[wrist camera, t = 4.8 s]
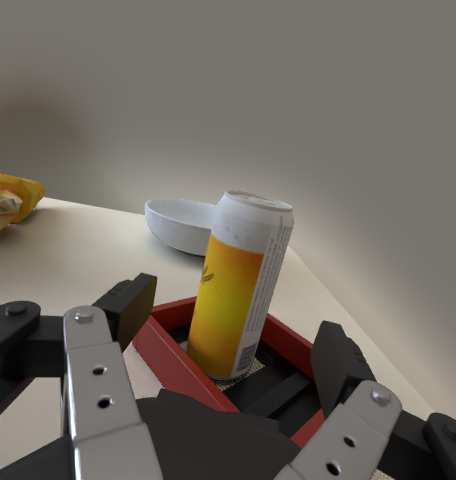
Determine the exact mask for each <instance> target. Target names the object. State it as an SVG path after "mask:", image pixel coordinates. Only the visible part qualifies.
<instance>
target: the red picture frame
mask: <svg viewBox="0 0 456 480" xmlns="http://www.w3.org/2000/svg"><path fill="white" fill-rule="evenodd" d="M196 300H197V296H196V297H191V298H187V299H183V300H179V301H174V302H170V303H166V304H162V305H158V306H153V308H152V311H151V314H150V316H149V318H148V319H147V321H146V322H145V323H144V325H143V326H142V328H141V329H140V330H139V332H138V333H137V334H136V336H135V337H134V338H133V341H132V344H133V346H134V347H135V348H136V349H137V351H138V352H139V354H140V355H141V356H142V358H143V359H144V360H145V362H146V363H147V364H148V366H149V367H150V368H151V370H152V371H153V372H154V374H155V375H156V376H157V378H158V379H159V380H160V382H161V383H162V384H163V386H164V387H165V388H166V390H170V391H173V392H177V393H181V394H184V395H188V396H190V397H192V398H194V399H196V400H198V401H200V402H202V403H203V404H205V405H207V406H209V407H211V408H213V409H215V410H217V411H222V412H244V413H252V414H255V415H259V416H262V417H266V418H270V419H273V420H277V421H279V432H280V433H281V434H283V435H285V436H286V437H288V438H289V439H291V440H292V441H293V442H294V443H295V444H297V445H298V446H299V447H300V448H301V449H303V447H304V446H305V445H306V444H307V443H308V441H309V440H310V439H311V438H312V436H313V435H314V434H315V433H316V431H317V430H318V429H319V428H320V426H321V425H322V424H323V423H324V421H325V420H324V415H323V411H322V407H321V403H320V399H319V395H318V390H317V386H316V382H315V378H314V374H313V370H312V366H311V360H310V357H311V350H312V347H313V344H312V343H311V342H309V341H308V340H306V339H305V338H303V337H302V336H300V335H299V334H298V333H296V332H295V331H293V330H292V329H290V328H289V327H287V326H286V325H284V324H283V323H282V322H280V321H279V320H277V319H276V318H274V317H273V316H271V315H270V314H269V313H267V315H266V319H265V322H264V325H263V329H262V332H261V335H260V339H259V342H258V346H257V349H256V352H255V357H256V358H258V359H259V360H260V361H261V362H262V363H263V364H265V365H266V366H265V367H264V368H262V369H260V370H258V371H257V372H255V373H253V374H252V375H250V376H248V377H246V378H245V379H243V380H241V381H240V382H238V383H236V384H234V385H233V386H231V387H229V388H228V389H226V390H224V391H221V390H220V389H219V388H218V387H217V386H216V385H215V384H214V383H213V382H212V381H211V379H210V378H209V377H208V376H207V375H206V374H205V373H204V372H203V371H202V370H201V369H200V368H199V366H198V365H197V364H196V363H195V362H194V361H193V360H192V359H191V358H190V357H189V356H188V355H187V353H186V352H185V351H184V350H183V349H182V348H181V347H180V346H179V345H178V344H177V343H179V342H182V341H185V340H187V339H188V337H189V333H190V328H191V323H192V319H193V314H194V309H195V305H196Z"/></svg>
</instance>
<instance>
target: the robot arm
mask: <svg viewBox="0 0 456 480" xmlns="http://www.w3.org/2000/svg"><path fill="white" fill-rule="evenodd" d="M156 285H157V277H156V276H153V275H149V274H145V273H140V274H139V275H138V276H137V277H136V278H135V279H134V280H133V281H131V280H125V281H122V282H119V283H118V284H116V285H115V286H114V287H113V288H112V289H110V290H109V291H108V292H107V294H104V295H103V296H102V297H101V298H100V299H98V300H97V301H96V302H95V303H94V304H92V305H91V306H79V307H75V308H72V309H70V310H68V311H67V312H66V313H65V314H64V316H42V315H40V313H41V308H40V306H39V305H38V304H36V303H34V302H30V301H14V302H9V303H6V304H3V305H0V415H1V414H2V413H3V411H4V410H5V409H6V408H7V407H8V406H9V405H10V404H11V403H12V402H13V401H14V400H15V399H16V398H17V397H18V396H19V395H20V394H21V393H22V392H23V391H24V389H25V388H26V387H27V386H28V385H29V384H30V383H31V382H32V381H33V380H34V379H35V378H36V377H60V413H61V433H60V438H58V439H56V440H55V441H53V442H51V443H49V444H47V445H45V446H43V447H42V448H40V449H38V450H36V451H34V452H32V453H30V454H28V455H27V456H25V457H23V458H21V459H19V460H17V461H15V462H14V463H12V464H10V465H8V466H6V467H4V468H2V469H0V480H371V479H372V477H373V474H374V472H375V470H376V469H378V470H380V471H382V472H383V473H385V474H387V475H388V476H390V477H392V478H394V479H395V480H456V420H455V419H453V418H451V417H449V416H447V415H444V414H441V413H431V414H430V416H429V418H428V419H427V421H424V420H422V419H420V418H418V417H416V416H414V415H412V414H410V413H408V412H406V411H404V410H402V404H401V402H400V400H399V399H398V397H397V396H396V395H395V394H394V393H393V392H392V391H391V390H389V389H388V388H386V387H385V386H383V385H381V384H379V383H377V381H376V379H375V377H374V375H373V373H372V371H371V369H370V367H369V365H368V363H366V362H367V361H366V360H365V358H364V356H363V354H362V352H361V350H360V348H359V346H358V345H357V344H356V343H355V342H354V341H353V340H352V339H351V338H348V337H346V335H345V333H344V330H343V328H342V326H341V325H340V324H336V323H333V322H329V321H325V320H324V321H322V323H321V325H320V327H319V330H318V333H317V336H316V338H315V341H314V344H313V347H312V350H311V357H310V360H311V366H312V370H313V374H314V378H315V382H316V386H317V390H318V395H319V399H320V403H321V407H322V411H323V415H324V420H325V421H324V423H323V424H322V425H321V426H320V428H319V429H318V430H317V431H316V433H315V434H314V435H313V436H312V438H311V439H310V440H309V441H308V443H307V444H306V445H305V446H304V447H303V449H301V448H300V447H299V446H298V445H297V444H295V443H294V442H293V441H292V440H291V439H289V438H288V437H286V436H285V435H283V434H281V433H280V432H279V421H277V420H273V419H270V418H266V417H262V416H259V415H255V414H252V413H244V412H222V411H217V410H215V409H213V408H211V407H209V406H207V405H205V404H203V403H202V402H200V401H198V400H196V399H194V398H192V397H190V396H188V395H184V394H181V393H177V392H173V391H170V390H166V389H163V388H161V389H160V392H159V394H158V396H157V398H156V397H151V398H141V399H137V400H135V397H134V393H133V390H132V386H131V383H130V379H129V376H128V373H127V369H126V366H125V362H124V359H123V355H122V353H123V352H124V351H125V349H126V348H127V347H128V345H129V344H130V343H131V341H132V340H133V338H134V337H135V336H136V334H137V333H138V332H139V330H140V329H141V328H142V326H143V325H144V323H145V322H146V321H147V319H148V318H149V316H150V314H151V311H152V308H153V303H154V297H155V291H156Z"/></svg>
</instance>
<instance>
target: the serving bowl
mask: <svg viewBox="0 0 456 480" xmlns="http://www.w3.org/2000/svg"><path fill="white" fill-rule="evenodd" d="M216 207H217V206H216V205H211V204H207V203H202V202H196V201H189V200H179V199H153V200H149V201H147V202H146V203H145V217H146V221H147V224H148V226H149V228H150V230H151V231H152V233H153V234H154V235H155V236H156V237H157V238H158V239H159V240H160V241H162V242H163V243H165V244H167V245H168V246H170V247H173V248H175V249H178V250H180V251H183V252H186V253H190V254H194V255H199V256H206V253H207V249H208V244H209V239H210V235H211V230H212V225H213V221H214V216H215V211H216Z"/></svg>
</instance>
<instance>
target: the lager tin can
mask: <svg viewBox="0 0 456 480" xmlns="http://www.w3.org/2000/svg"><path fill="white" fill-rule="evenodd" d="M292 210H293V207H292V206H291V205H289V204H287V203H284V202H281V201H279V200H275V199H272V198H269V197H265V196H261V195H257V194H252V193H247V192H242V191H234V190H227V191H225V195H224V196H223V197H222V199H221V200H220V201H219V202H218V204H217V207H216V211H215V216H214V221H213V225H212V230H211V235H210V239H209V244H208V249H207V253H206V258H205V263H204V267H203V272H202V277H201V281H200V286H199V291H198V295H197V300H196V305H195V309H194V314H193V319H192V323H191V328H190V333H189V337H188V342H187V348H186V349H187V354H188V356H189V357H190V358H191V359H192V360H193V361H194V362H195V363H196V364H197V365H198V366H199V368H200V369H201V370H202V371H203V372H204V373H205V374H206V375H207V376H208V377H209V378H212V379H215V380H231V379H234V378H237V377H238V376H240V375H242V374H244V373H246V372H247V371H248V370H249V369H250V367H251V365H252V362H253V359H254V356H255V352H256V349H257V346H258V342H259V339H260V335H261V332H262V329H263V325H264V322H265V319H266V315H267V312H268V309H269V305H270V302H271V299H272V295H273V292H274V289H275V285H276V282H277V279H278V275H279V272H280V269H281V265H282V262H283V259H284V255H285V252H286V249H287V245H288V242H289V239H290V235H291V232H292V229H293V225H294V220H293V214H292Z"/></svg>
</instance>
